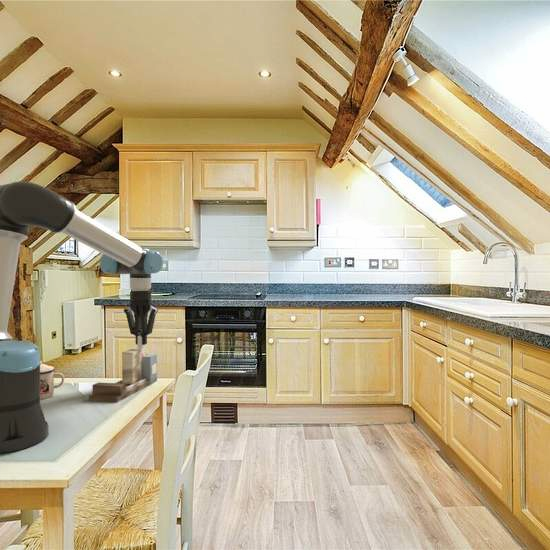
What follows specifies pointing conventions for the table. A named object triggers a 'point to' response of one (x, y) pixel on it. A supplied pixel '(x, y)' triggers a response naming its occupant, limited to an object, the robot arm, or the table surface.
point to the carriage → (131, 366)
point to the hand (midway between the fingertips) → (141, 353)
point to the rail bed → (116, 390)
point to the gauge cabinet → (149, 367)
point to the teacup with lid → (48, 381)
